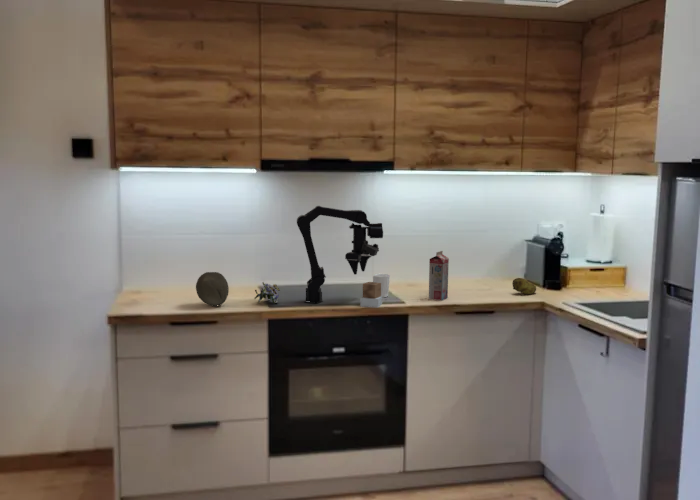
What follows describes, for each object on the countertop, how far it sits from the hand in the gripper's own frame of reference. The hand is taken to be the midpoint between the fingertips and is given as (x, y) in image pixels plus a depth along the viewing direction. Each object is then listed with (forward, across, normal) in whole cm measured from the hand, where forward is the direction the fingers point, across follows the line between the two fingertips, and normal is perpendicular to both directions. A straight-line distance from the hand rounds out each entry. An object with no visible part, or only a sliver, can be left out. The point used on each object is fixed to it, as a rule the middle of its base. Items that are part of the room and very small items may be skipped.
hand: (359, 272), depth 297 cm
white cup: (+13, +15, -5) cm, 21 cm away
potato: (+13, +49, -66) cm, 83 cm away
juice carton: (+13, +21, -31) cm, 40 cm away
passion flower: (+13, -22, +35) cm, 43 cm away
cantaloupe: (+13, -36, +54) cm, 66 cm away
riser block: (+13, -5, -8) cm, 16 cm away
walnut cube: (+9, -5, -8) cm, 13 cm away
